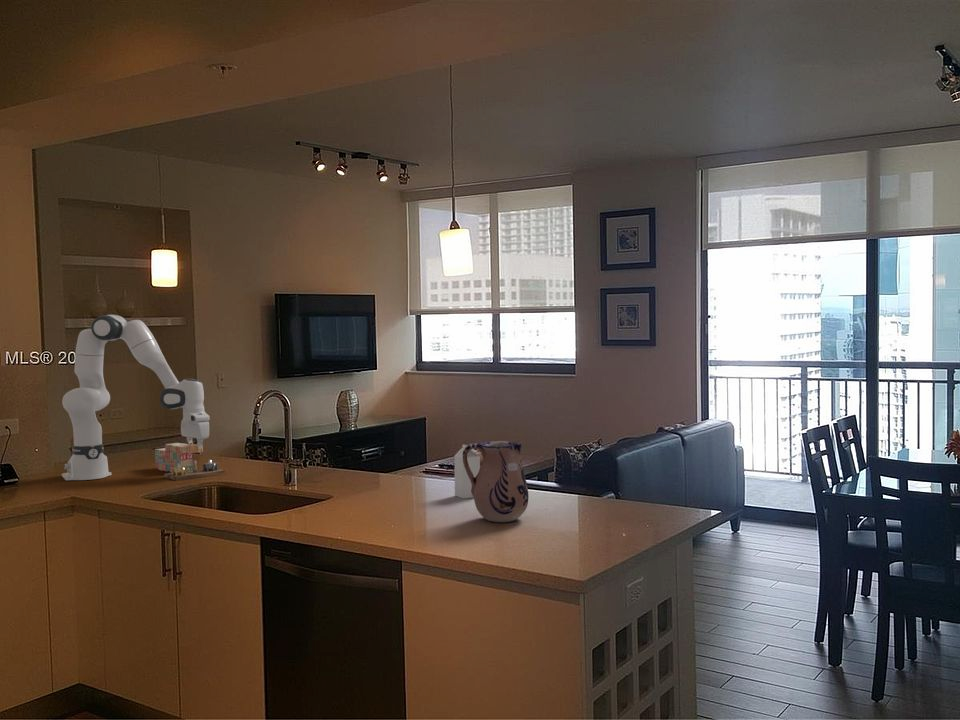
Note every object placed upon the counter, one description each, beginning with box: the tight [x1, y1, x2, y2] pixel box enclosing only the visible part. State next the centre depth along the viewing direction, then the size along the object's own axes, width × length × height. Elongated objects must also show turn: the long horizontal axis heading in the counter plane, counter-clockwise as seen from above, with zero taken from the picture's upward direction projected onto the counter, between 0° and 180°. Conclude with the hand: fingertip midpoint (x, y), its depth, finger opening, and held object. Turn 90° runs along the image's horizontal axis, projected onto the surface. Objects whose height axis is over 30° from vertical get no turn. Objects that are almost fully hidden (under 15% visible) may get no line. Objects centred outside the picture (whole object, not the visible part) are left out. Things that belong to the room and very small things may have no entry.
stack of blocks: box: [154, 442, 194, 473], centre depth 379 cm, size 21×6×12 cm, turn 50°
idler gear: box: [187, 443, 204, 454], centre depth 365 cm, size 6×6×3 cm
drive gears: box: [171, 459, 219, 475], centre depth 365 cm, size 6×20×4 cm, turn 134°
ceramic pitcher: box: [463, 440, 530, 523], centre depth 273 cm, size 18×21×25 cm
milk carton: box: [453, 444, 481, 500], centre depth 313 cm, size 7×7×19 cm
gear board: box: [163, 460, 226, 481], centre depth 365 cm, size 12×22×6 cm, turn 134°
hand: (195, 448), depth 365 cm, fingers closed on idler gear, 6 cm apart
